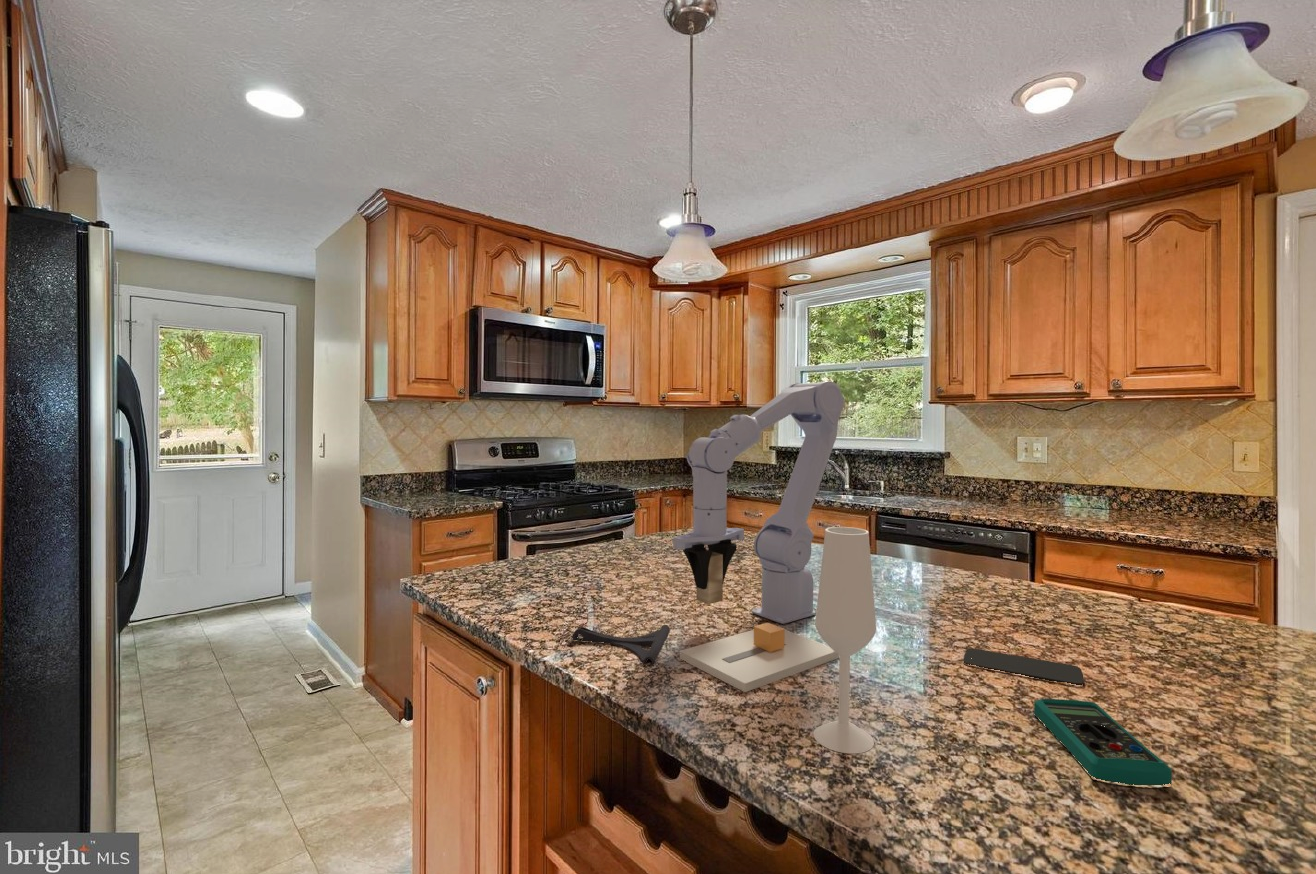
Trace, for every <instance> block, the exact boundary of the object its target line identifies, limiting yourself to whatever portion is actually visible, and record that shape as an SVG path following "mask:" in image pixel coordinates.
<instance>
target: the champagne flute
mask: <svg viewBox="0 0 1316 874" xmlns="http://www.w3.org/2000/svg"><path fill="white" fill-rule="evenodd" d="M824 530H825V531H824V539H823V549H822V558H821V564H820V565H821V566H820V574H819V585H818V593H817V601H816V615H815V621H814V626H815V629H816V630H817V633H818V635H819V636H820V637H821V639H822V641H823V642H824V643H825V644H826V645H827V646H829V647H830V648H831V649H832V650H833V651H835V652H836V653H838V654H839V658H838V660H839V663H838V665H839V666H838V719H836V720H834V721H831V722H828V723H824V724H821V725H819V726H817V727H816V728H815V729H814V730H813V738H814V739H815V741H816V742H817V743H818V744H819V745H821V746H822V747H825V748H826V749H829V750H831V751H834V752H838V753H842V754H853V755H854V754H861V753H865V752H868V751H870V750H871V749H872V748H873V747H874V746H875V745H874V744H875V741H874V739H873V737H872V735H871V734H869V733H868V732H867V731H865V730H864V729H862V728H860V727H859V726H857V725H855V724H854V723H852V722H850V684H851V683H850V680H851V678H850V676H851V675H850V674H851V670H850V669H851V656H853V655H856V654H857V653H858V652H860V651H862V650H863V649H864V648H865V647H866V646H867V645H869V643H870V642H871V641H872V640H873V638H874V637H875V635H876V632H877V621H876V620H877V619H876V609H875V607H876V606H875V597H874V596H875V594H874V585H873V582H874V581H873V571H872V570H873V569H872V558H871V557H872V556H871V546H870V532H869V531H868V530H867V529H865V528H864V529H863V528H858V527H849V526H831V527H827V528H825V529H824Z"/></svg>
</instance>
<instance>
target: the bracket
mask: <svg viewBox="0 0 1316 874" xmlns="http://www.w3.org/2000/svg"><path fill="white" fill-rule="evenodd" d="M670 631H671V628H670V626H668V624H663V625H662V626H661V627H660V629H658V630H655V631H653V632H651V633H648V634H644V635H643V634H642V635H637V636H629V637H621V636H616V635H615V636H614V635H609V634H606V633H602V632H599V631H595V630H592V629H590V628H587V627H584V626H580V627H578V628H577V629H576V630H575V631H574V632H573V634H572V641H573V640H578V639H579V638H580V636H579V635H581V637H582V638H581V639H582V641H592V642H604V643H610V644H609V645H614V646H618V647H622V648H623V647H624V648H623V649H626V650H629V651H631V652H632V653H634V655H636V656H637V657H638V658H639V659H640V661H642V663H643V664H647V662H648V660H650V661H651V665H655V663H656V661H657V659H658V657H659V655H660V653H661V651H660V650H662V649H661V648H663V646H664V645H665V641H666V640H667V639H668V636H669V634H670ZM577 637H578V638H577ZM579 640H580V639H579ZM643 647H645V648H643ZM647 648H649V649H647ZM647 659H648V660H647Z"/></svg>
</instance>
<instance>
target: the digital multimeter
mask: <svg viewBox="0 0 1316 874" xmlns="http://www.w3.org/2000/svg"><path fill="white" fill-rule="evenodd" d="M1033 702H1034V703H1033V715H1034V714H1035V715H1036V716H1037V717H1039V719H1040V720H1041V721H1042V722H1043V723H1044V724H1045V726H1046V727H1047V728H1048V729H1049V730H1051V731H1052V733H1053V734H1054V735H1055V736H1056V737H1057V738H1058V739H1057V738H1056V737H1055V736H1054V735H1053V734H1052V733H1051V734H1052V735H1053V736H1054V737H1055V738H1056V739H1057V741H1058V740H1059V741H1061V742H1062V743H1063V744H1064V745H1065V746H1066V748H1067V749H1068V750H1069V751H1070V752H1071V753H1072V754H1073V755H1074V756H1075V758H1076V759H1077V760H1078V761H1079V762H1080V763H1081V764H1082V766H1083V767H1084V768H1085V769H1086V770H1087V771H1088V773H1089V774H1090V775H1091V776H1093V777H1095V778H1096V779H1101V780H1105V781H1111V782H1118V783H1119V782H1120V783H1125V784H1129V785H1130V784H1131V785H1133V784H1134V785H1163V784H1164V785H1165V784H1169V783H1170V784H1171V785H1172V783H1173V782H1172V780H1173V779H1172V777H1173V770H1172V768H1171V767H1170V766H1169V765H1167V764H1166V763H1165V761H1164V760H1162V759H1161V758H1159V756H1157V755H1156V754H1155V753H1154V752H1153V751H1151V750H1150V749H1148V747H1146V746H1145V745H1144V744H1143V743H1141V741H1139V740H1138V739H1137V738H1136V737H1135V736H1133V735H1132V734H1131V733H1130V732H1129V731H1128V730H1126V728H1124V727H1123V726H1122V725H1121V724H1119V723H1118V722H1117V721H1116V720H1115V719H1114V718H1112V716H1110V715H1109V714H1108V713H1107V712H1106V711H1105V710H1104V709H1103V708H1102V707H1101V706H1100V705H1098V704H1097V703H1096V702H1093V701H1086V700H1085V701H1084V700H1074V699H1073V700H1072V699H1061V698H1060V699H1059V698H1058V699H1057V698H1040V699H1037V700H1034V701H1033ZM1101 725H1102V726H1101ZM1045 726H1044V727H1045ZM1104 726H1105V727H1104ZM1046 727H1045V728H1046ZM1047 728H1046V729H1047ZM1048 729H1047V730H1048ZM1049 730H1048V731H1049ZM1059 741H1058V742H1059ZM1066 748H1065V749H1066ZM1067 749H1066V750H1067ZM1068 750H1067V751H1068ZM1069 751H1068V752H1069ZM1075 758H1074V759H1075ZM1082 766H1081V767H1082Z"/></svg>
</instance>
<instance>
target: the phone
mask: <svg viewBox="0 0 1316 874" xmlns="http://www.w3.org/2000/svg"><path fill="white" fill-rule="evenodd" d="M965 649H966V650H965V652H964V656H963V659H964V663H966V664H969V665H970V664H971V665H976V666H979V667H984V668H988V669H994V670H1000V671H1005V672H1010V673H1015V674H1021V675H1025V676H1029V677H1034V678H1039V679H1045V680H1049V681H1057V682H1067V683H1071V684H1076V685H1082V684H1084V683H1085V682H1084V675H1083V672H1082V669H1081V667H1079V666H1077V665H1074V664H1068V663H1063V662H1057V661H1053V660H1044V659H1039V658H1034V657H1033V658H1032V657H1026V656H1023V655H1022V656H1021V655H1015V654H1010V653H1003V652H998V651H991V650H986V649H985V650H984V649H980V648H973V647H969V648H965ZM971 658H972V659H971ZM964 663H963V664H964Z"/></svg>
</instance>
